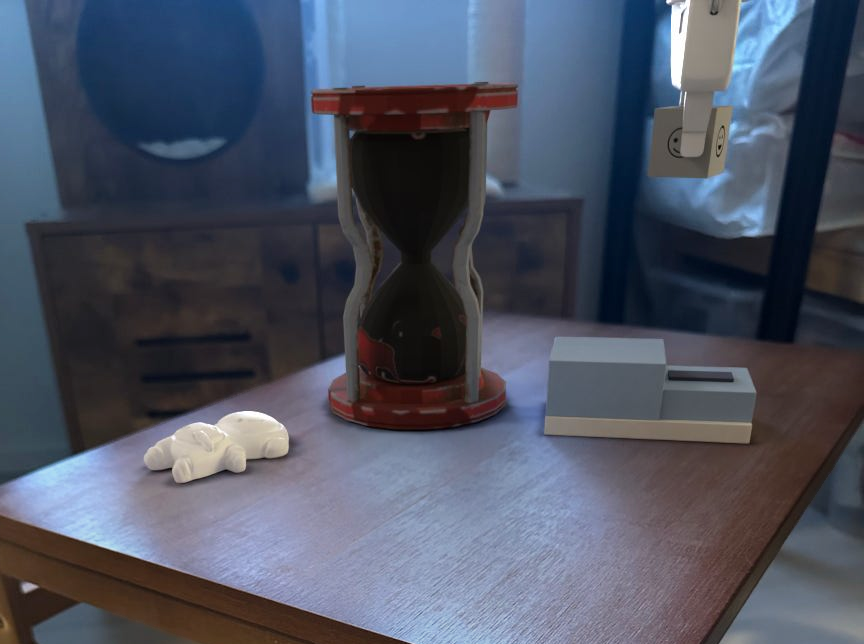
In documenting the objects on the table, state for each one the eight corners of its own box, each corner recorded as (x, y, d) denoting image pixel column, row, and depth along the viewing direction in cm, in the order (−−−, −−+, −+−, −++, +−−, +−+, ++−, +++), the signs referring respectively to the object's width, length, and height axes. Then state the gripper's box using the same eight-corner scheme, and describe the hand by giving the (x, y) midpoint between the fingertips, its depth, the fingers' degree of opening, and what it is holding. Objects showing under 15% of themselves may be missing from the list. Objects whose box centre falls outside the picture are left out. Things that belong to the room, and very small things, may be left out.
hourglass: (294, 402, 87) (270, 89, 74) (426, 369, 95) (425, 82, 83) (406, 445, 76) (400, 86, 63) (543, 403, 84) (563, 80, 72)
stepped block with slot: (738, 411, 81) (750, 340, 78) (749, 443, 74) (762, 367, 71) (551, 404, 84) (555, 335, 81) (544, 434, 77) (548, 361, 74)
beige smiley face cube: (647, 176, 79) (654, 108, 77) (665, 171, 83) (673, 106, 80) (707, 178, 77) (717, 108, 74) (723, 172, 80) (733, 105, 78)
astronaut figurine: (128, 461, 75) (121, 424, 73) (254, 426, 81) (250, 392, 80) (185, 491, 69) (179, 451, 67) (315, 451, 75) (313, 414, 74)
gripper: (774, -69, 63) (739, 163, 70) (745, -41, 79) (719, 144, 87) (676, -64, 64) (651, 164, 71) (668, -37, 81) (649, 145, 88)
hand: (688, 153), depth 79 cm, fingers closed on beige smiley face cube, 5 cm apart
